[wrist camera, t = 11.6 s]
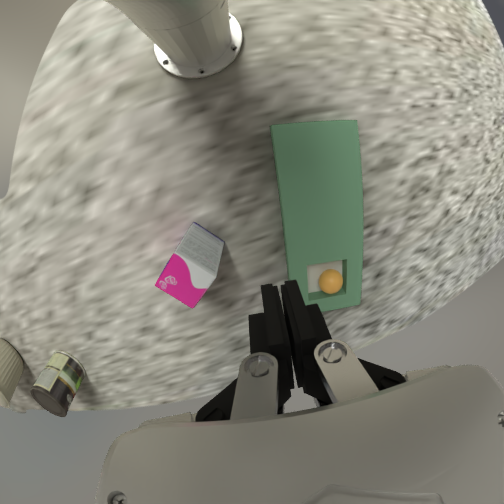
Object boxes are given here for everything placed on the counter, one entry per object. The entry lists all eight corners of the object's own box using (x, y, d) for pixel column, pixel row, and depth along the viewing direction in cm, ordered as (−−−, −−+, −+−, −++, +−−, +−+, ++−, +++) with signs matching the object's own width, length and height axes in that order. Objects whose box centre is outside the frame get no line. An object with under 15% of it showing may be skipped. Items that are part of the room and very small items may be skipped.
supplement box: (192, 220, 40) (175, 250, 29) (225, 241, 41) (220, 278, 31) (174, 249, 42) (153, 286, 31) (205, 269, 43) (194, 311, 33)
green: (269, 126, 35) (271, 125, 32) (350, 120, 34) (356, 120, 32) (290, 308, 47) (293, 316, 44) (355, 296, 46) (360, 304, 44)
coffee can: (88, 365, 53) (67, 407, 40) (83, 383, 56) (65, 422, 43) (54, 343, 50) (29, 382, 37) (52, 363, 53) (31, 399, 40)
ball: (325, 298, 40) (317, 294, 44) (348, 292, 40) (338, 288, 44) (321, 272, 40) (313, 270, 44) (345, 267, 40) (335, 265, 44)
